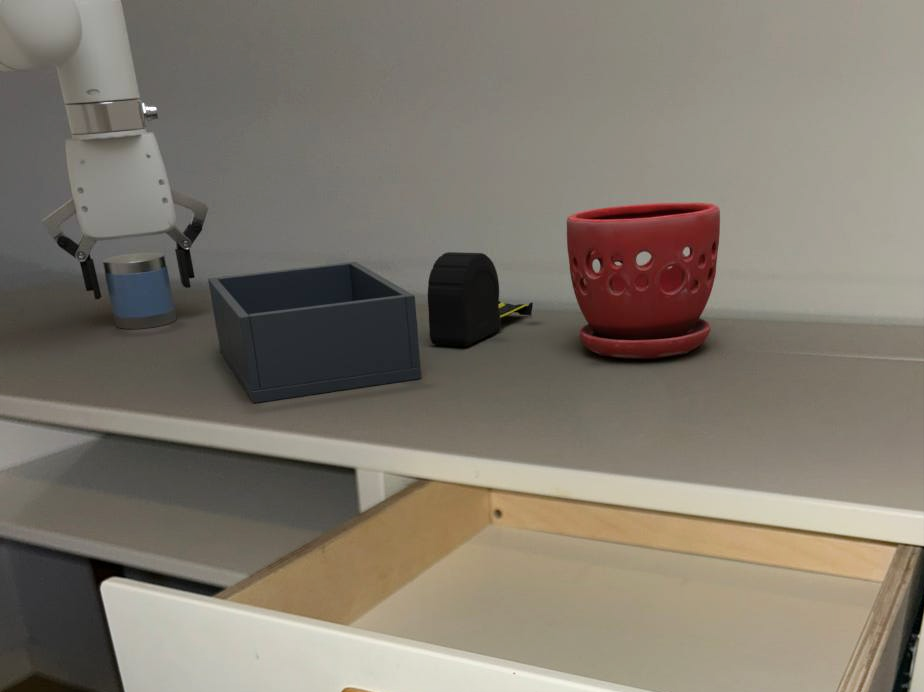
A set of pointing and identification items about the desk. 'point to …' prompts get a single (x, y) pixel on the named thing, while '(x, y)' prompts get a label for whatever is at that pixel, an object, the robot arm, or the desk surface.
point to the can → (139, 290)
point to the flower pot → (644, 277)
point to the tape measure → (466, 299)
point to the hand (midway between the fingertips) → (142, 291)
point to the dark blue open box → (315, 330)
